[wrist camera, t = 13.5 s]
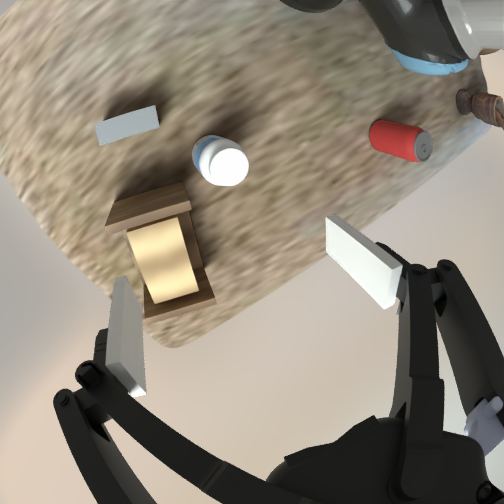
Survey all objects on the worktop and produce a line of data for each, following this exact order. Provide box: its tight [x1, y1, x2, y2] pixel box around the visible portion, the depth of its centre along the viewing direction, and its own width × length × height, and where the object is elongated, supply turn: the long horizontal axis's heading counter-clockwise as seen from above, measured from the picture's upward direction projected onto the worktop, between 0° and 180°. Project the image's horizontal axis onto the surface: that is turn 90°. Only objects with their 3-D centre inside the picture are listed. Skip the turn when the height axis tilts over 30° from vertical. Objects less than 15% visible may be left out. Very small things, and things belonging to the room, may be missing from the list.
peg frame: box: [105, 182, 217, 324], centre depth 40 cm, size 16×11×10 cm
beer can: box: [369, 120, 433, 162], centre depth 44 cm, size 7×7×12 cm
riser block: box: [95, 105, 159, 146], centre depth 32 cm, size 3×8×6 cm, turn 98°
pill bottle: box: [192, 135, 249, 186], centre depth 36 cm, size 6×6×11 cm
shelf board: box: [126, 214, 199, 304], centre depth 39 cm, size 12×7×4 cm, turn 8°
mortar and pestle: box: [456, 90, 504, 130], centre depth 44 cm, size 12×9×20 cm
